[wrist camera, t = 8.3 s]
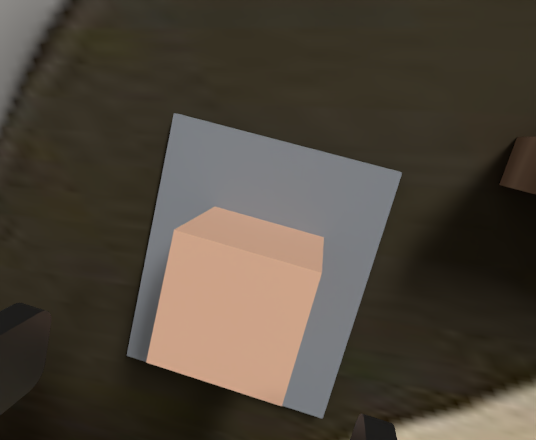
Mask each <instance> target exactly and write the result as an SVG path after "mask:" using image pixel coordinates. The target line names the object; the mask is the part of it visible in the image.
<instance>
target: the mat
mask: <svg viewBox="0 0 536 440" xmlns="http://www.w3.org/2000/svg"><path fill="white" fill-rule="evenodd" d="M401 175H402V173H401V172H399V171H395V170H391V169H387V168H383V167H380V166H376V165H372V164H368V163H364V162H360V161H357V160H353V159H349V158H345V157H341V156H338V155H334V154H330V153H326V152H322V151H318V150H315V149H311V148H307V147H303V146H299V145H295V144H292V143H288V142H284V141H280V140H276V139H272V138H269V137H265V136H261V135H257V134H253V133H249V132H246V131H242V130H238V129H234V128H230V127H226V126H223V125H219V124H215V123H211V122H207V121H204V120H200V119H196V118H192V117H188V116H184V115H181V114H176V113H174V115H173V120H172V126H171V131H170V136H169V141H168V146H167V151H166V156H165V161H164V166H163V172H162V177H161V182H160V187H159V192H158V197H157V202H156V207H155V213H154V218H153V223H152V228H151V233H150V238H149V243H148V248H147V254H146V259H145V264H144V269H143V274H142V279H141V284H140V289H139V295H138V300H137V305H136V310H135V315H134V320H133V325H132V330H131V335H130V341H129V346H128V351H127V356H129V357H132V358H135V359H139V360H142V361H145V362H146V360H147V356H148V351H149V346H150V341H151V337H152V332H153V327H154V322H155V318H156V313H157V308H158V303H159V299H160V294H161V289H162V285H163V280H164V275H165V270H166V266H167V261H168V256H169V251H170V247H171V242H172V237H173V232H174V229H176V228H178V227H180V226H181V225H183V224H185V223H187V222H188V221H190V220H192V219H194V218H196V217H197V216H199V215H201V214H203V213H204V212H206V211H208V210H210V209H211V208H213V207H219V208H222V209H226V210H229V211H233V212H236V213H240V214H243V215H247V216H250V217H254V218H258V219H261V220H265V221H268V222H272V223H275V224H279V225H282V226H286V227H289V228H293V229H296V230H300V231H303V232H307V233H310V234H314V235H318V236H321V237H324V246H323V263H322V274H321V278H320V281H319V284H318V288H317V291H316V294H315V298H314V301H313V304H312V308H311V311H310V314H309V318H308V321H307V324H306V328H305V331H304V334H303V338H302V341H301V344H300V348H299V351H298V354H297V358H296V361H295V364H294V368H293V371H292V374H291V378H290V381H289V384H288V388H287V391H286V394H285V398H284V401H283V404H282V406H285V407H288V408H291V409H294V410H297V411H300V412H303V413H306V414H310V415H313V416H316V417H319V418H322V419H323V416H324V413H325V410H326V407H327V403H328V400H329V397H330V394H331V391H332V388H333V385H334V382H335V379H336V376H337V373H338V369H339V366H340V363H341V360H342V357H343V354H344V351H345V348H346V345H347V342H348V339H349V336H350V332H351V329H352V326H353V323H354V320H355V317H356V314H357V311H358V308H359V305H360V302H361V298H362V295H363V292H364V289H365V286H366V283H367V280H368V277H369V274H370V271H371V268H372V264H373V261H374V258H375V255H376V252H377V249H378V246H379V243H380V240H381V237H382V234H383V231H384V227H385V224H386V221H387V218H388V215H389V212H390V209H391V206H392V203H393V200H394V197H395V193H396V190H397V187H398V184H399V181H400V178H401Z"/></svg>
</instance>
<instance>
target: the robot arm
mask: <svg viewBox="0 0 536 440" xmlns="http://www.w3.org/2000/svg"><path fill="white" fill-rule="evenodd" d="M50 326H51V315H50V313H49V312H48V311H45V310H42V309H39V308H36V307H33V306H30V305H26V304H23V303H16V304H14V305H12V306H10V307H8V308H6V309H4V310H2V311H0V415H1V414H2V413H4V412H5V411H6V410H7V409H8V408H10V407H11V406H12V405H13V404H15V403H16V402H17V401H18V400H19V399H21V398H22V397H23V396H24V395H26V394H27V393H28V392H29V391H30V390H31V389H32V388H33V387H34V386H35V385H36V383H37V382H38V380H39V379H40V377H41V375H42V372H43V370H44V366H45V360H46V353H47V347H48V340H49V333H50ZM350 440H397V437H396V432H395V428H394V425H393V424H392V423H389V422H386V421H383V420H380V419H377V418H374V417H371V416H368V415H365V414H360V415H359V417H358V419H357V421H356V424H355V427H354V430H353V433H352V436H351V439H350Z"/></svg>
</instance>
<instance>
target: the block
mask: <svg viewBox="0 0 536 440" xmlns="http://www.w3.org/2000/svg"><path fill="white" fill-rule="evenodd" d="M323 246H324V237H321V236H318V235H314V234H310V233H307V232H303V231H300V230H296V229H293V228H289V227H286V226H282V225H279V224H275V223H272V222H268V221H265V220H261V219H258V218H254V217H250V216H247V215H243V214H240V213H236V212H233V211H229V210H226V209H222V208H219V207H213V208H211V209H210V210H208V211H206V212H204V213H203V214H201V215H199V216H197V217H196V218H194V219H192V220H190V221H188V222H187V223H185V224H183V225H181V226H180V227H178V228H176V229H174V232H173V237H172V242H171V247H170V251H169V256H168V261H167V266H166V270H165V275H164V280H163V285H162V289H161V294H160V299H159V303H158V308H157V313H156V318H155V322H154V327H153V332H152V337H151V341H150V346H149V351H148V356H147V360H146V363H149V364H152V365H156V366H159V367H162V368H165V369H168V370H171V371H174V372H177V373H180V374H183V375H186V376H189V377H193V378H196V379H199V380H202V381H205V382H208V383H211V384H214V385H217V386H220V387H223V388H226V389H229V390H233V391H236V392H239V393H242V394H245V395H248V396H251V397H254V398H257V399H260V400H263V401H266V402H270V403H273V404H276V405H279V406H282V404H283V401H284V398H285V394H286V391H287V388H288V384H289V381H290V378H291V374H292V371H293V368H294V364H295V361H296V358H297V354H298V351H299V348H300V344H301V341H302V338H303V334H304V331H305V328H306V324H307V321H308V318H309V314H310V311H311V308H312V304H313V301H314V298H315V294H316V291H317V288H318V284H319V281H320V278H321V274H322V263H323Z"/></svg>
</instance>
